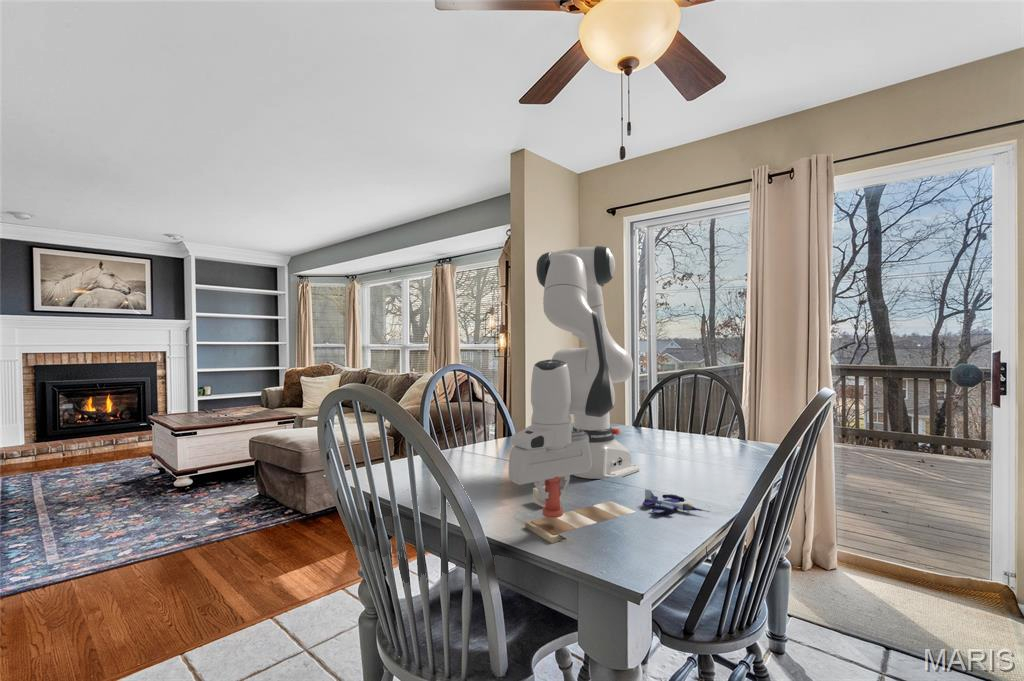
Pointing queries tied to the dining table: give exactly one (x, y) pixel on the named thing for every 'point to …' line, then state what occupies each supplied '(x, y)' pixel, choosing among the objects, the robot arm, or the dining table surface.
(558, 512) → the pawn
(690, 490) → the dining table surface
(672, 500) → the toy airplane
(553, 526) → the track board
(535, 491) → the die
